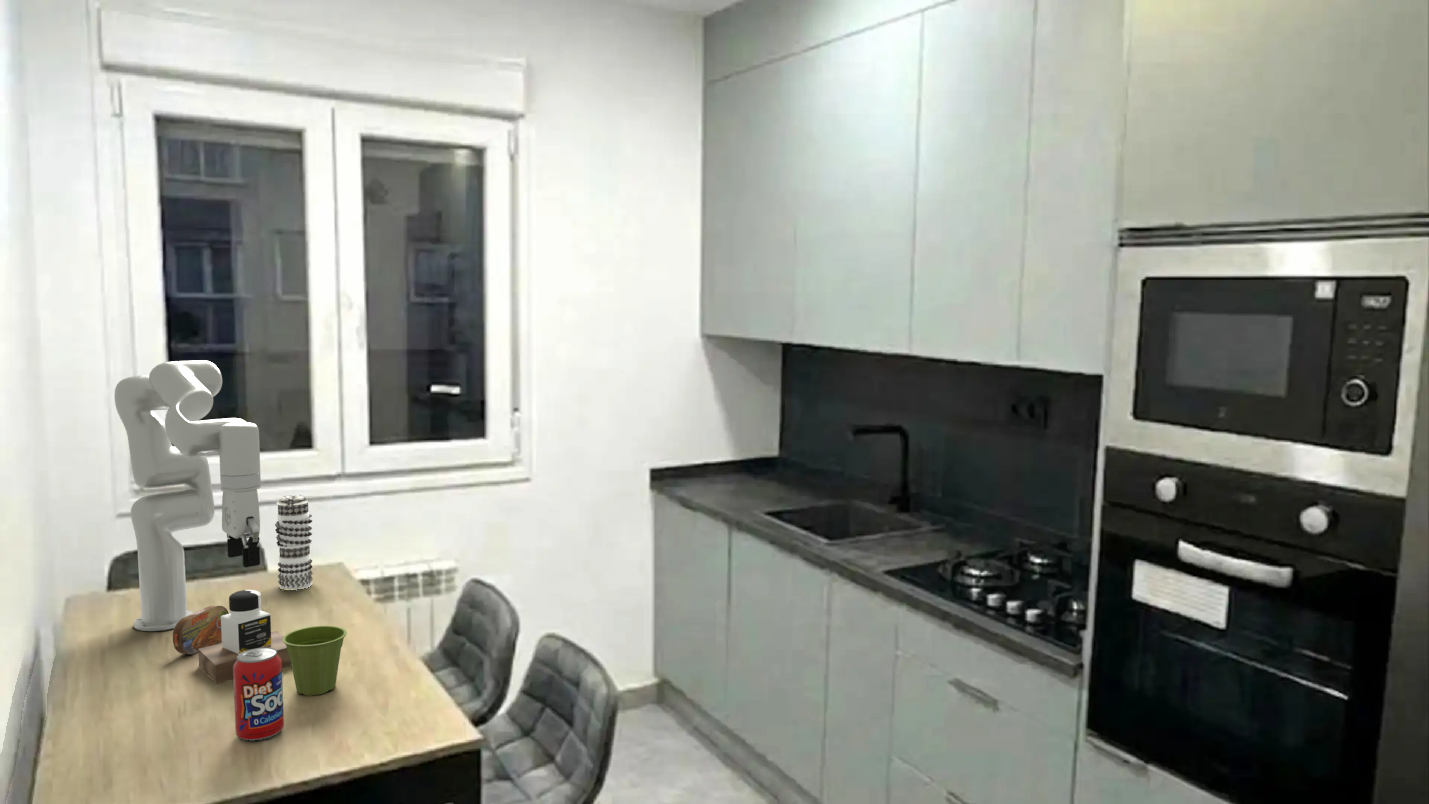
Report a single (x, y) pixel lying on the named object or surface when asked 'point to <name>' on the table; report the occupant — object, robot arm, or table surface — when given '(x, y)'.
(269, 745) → the table surface
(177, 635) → the tin
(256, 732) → the soda can
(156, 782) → the table surface
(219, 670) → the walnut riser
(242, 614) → the medicine bottle
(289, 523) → the decorative candle
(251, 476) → the robot arm
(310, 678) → the plant pot
